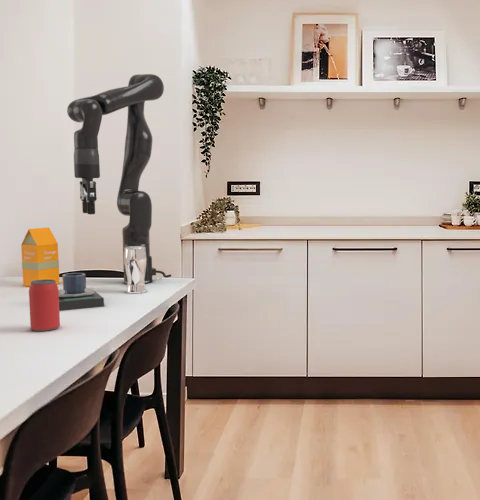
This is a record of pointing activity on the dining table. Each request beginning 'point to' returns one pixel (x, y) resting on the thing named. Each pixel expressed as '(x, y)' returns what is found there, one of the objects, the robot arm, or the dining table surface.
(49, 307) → the beer can
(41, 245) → the orange juice
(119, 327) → the dining table surface
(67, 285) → the cup
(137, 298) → the dining table surface
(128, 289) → the beer glass
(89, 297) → the scale
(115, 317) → the dining table surface
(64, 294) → the platter
